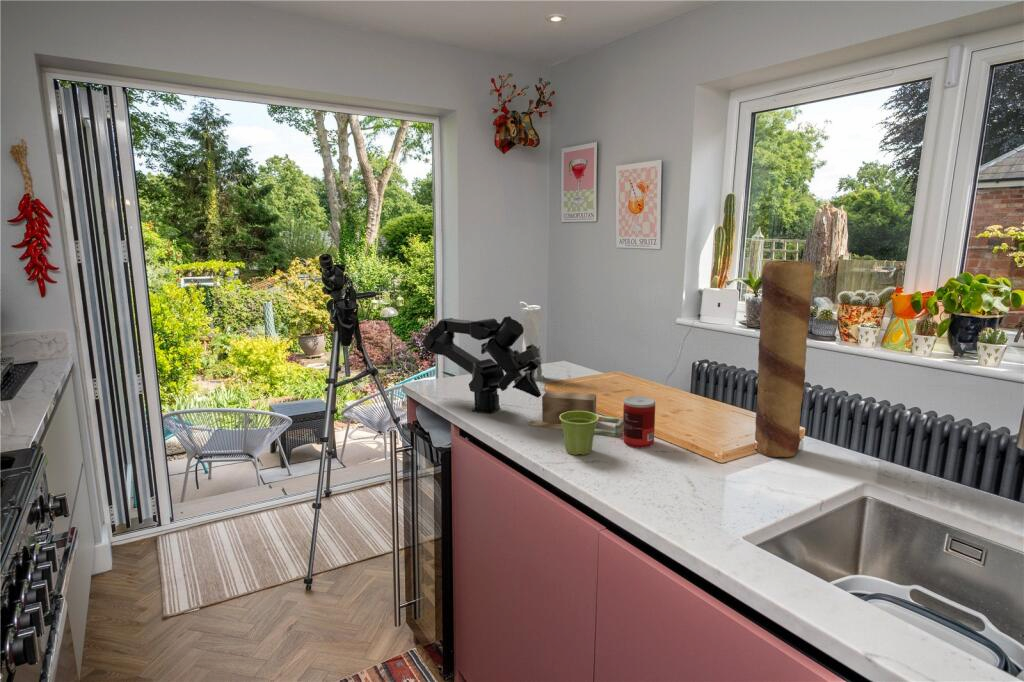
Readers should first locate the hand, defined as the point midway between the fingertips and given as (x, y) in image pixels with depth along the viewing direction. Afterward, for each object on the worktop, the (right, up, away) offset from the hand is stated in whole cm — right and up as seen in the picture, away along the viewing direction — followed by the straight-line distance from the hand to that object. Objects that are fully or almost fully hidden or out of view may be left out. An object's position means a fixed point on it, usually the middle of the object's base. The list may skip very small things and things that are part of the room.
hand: (539, 396), depth 162 cm
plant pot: (+8, -11, -23) cm, 27 cm away
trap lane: (+11, -7, -3) cm, 13 cm away
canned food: (+24, -10, -18) cm, 32 cm away
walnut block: (+8, -7, -2) cm, 11 cm away
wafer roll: (+55, -11, -25) cm, 61 cm away
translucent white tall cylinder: (-1, +2, +47) cm, 47 cm away
